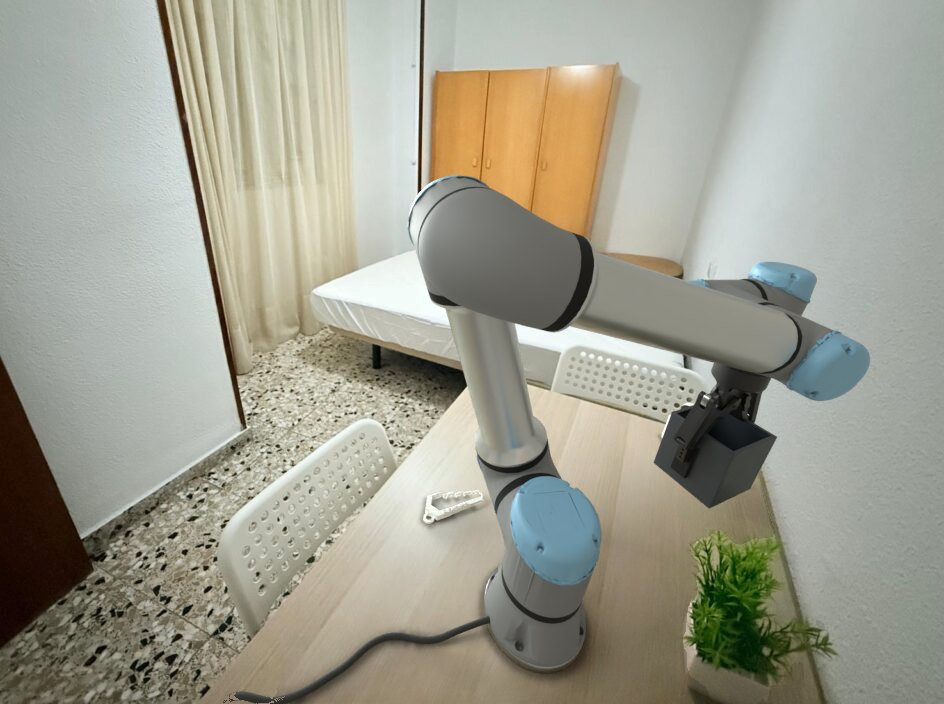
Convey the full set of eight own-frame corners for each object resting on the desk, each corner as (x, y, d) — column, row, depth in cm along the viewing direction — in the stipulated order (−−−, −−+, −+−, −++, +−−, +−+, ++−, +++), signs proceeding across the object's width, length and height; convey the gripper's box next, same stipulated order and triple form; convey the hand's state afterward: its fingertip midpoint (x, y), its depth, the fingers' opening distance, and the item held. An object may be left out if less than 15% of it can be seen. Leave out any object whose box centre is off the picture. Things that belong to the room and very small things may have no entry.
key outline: (473, 485, 85) (474, 479, 84) (485, 503, 81) (486, 497, 80) (416, 504, 80) (416, 498, 79) (425, 525, 76) (426, 519, 75)
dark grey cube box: (709, 508, 67) (653, 462, 76) (750, 489, 71) (692, 447, 80) (734, 454, 62) (671, 412, 71) (777, 436, 66) (712, 398, 75)
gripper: (721, 388, 56) (674, 498, 66) (815, 358, 65) (761, 459, 74) (673, 361, 62) (637, 466, 72) (765, 337, 71) (721, 433, 81)
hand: (700, 463), depth 73 cm, fingers closed on dark grey cube box, 11 cm apart
